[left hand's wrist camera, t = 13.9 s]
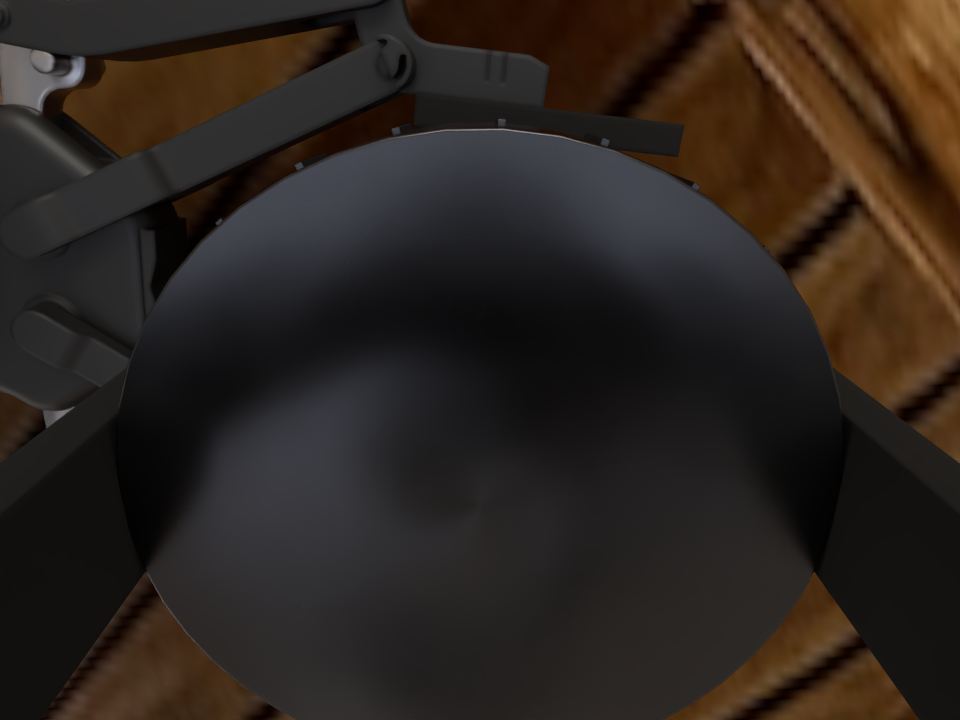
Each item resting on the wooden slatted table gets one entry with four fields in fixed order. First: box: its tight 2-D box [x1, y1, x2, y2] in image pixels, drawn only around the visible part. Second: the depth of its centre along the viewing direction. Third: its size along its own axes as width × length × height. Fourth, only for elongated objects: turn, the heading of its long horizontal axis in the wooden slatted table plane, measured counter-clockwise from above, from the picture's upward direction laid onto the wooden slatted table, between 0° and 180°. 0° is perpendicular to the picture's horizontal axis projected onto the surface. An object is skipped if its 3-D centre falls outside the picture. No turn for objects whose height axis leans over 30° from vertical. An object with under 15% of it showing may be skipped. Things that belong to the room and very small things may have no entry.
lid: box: [116, 117, 844, 720], centre depth 11 cm, size 11×11×2 cm
